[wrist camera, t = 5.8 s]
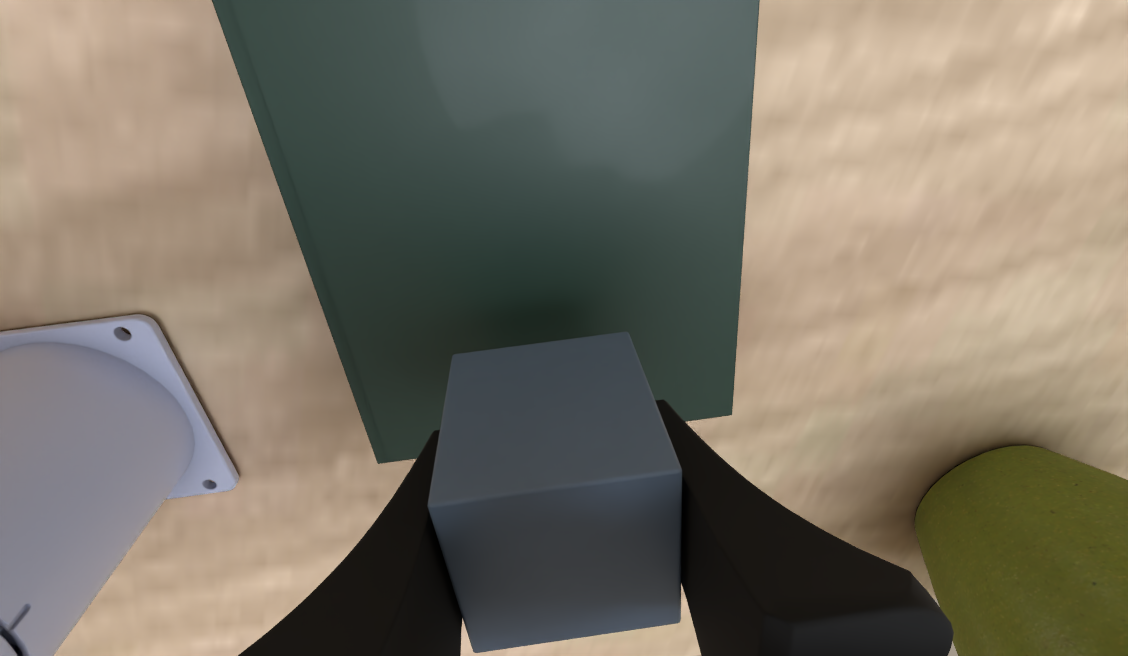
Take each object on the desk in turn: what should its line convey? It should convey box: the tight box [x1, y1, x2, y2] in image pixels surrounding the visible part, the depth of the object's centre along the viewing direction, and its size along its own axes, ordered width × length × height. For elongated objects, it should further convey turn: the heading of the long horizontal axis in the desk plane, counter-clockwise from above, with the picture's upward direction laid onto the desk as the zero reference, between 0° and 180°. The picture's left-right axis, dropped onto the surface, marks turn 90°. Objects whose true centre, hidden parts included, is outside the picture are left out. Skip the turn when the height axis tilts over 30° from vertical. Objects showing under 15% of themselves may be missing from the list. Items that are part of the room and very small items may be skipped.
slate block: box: [428, 332, 682, 653], centre depth 13 cm, size 4×4×5 cm
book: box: [212, 0, 759, 464], centre depth 17 cm, size 13×15×2 cm
